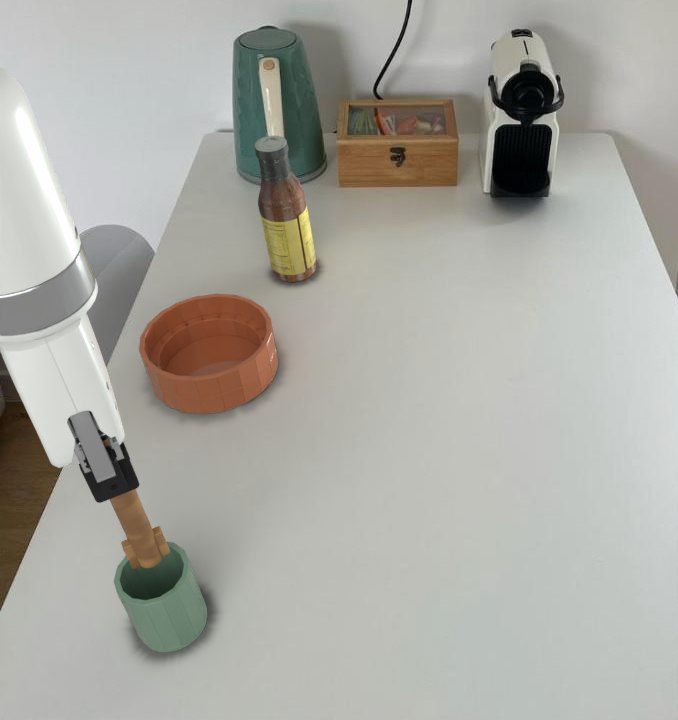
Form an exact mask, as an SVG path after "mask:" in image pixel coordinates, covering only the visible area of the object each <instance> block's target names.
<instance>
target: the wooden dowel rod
mask: <svg viewBox="0 0 678 720" xmlns="http://www.w3.org/2000/svg"><path fill="white" fill-rule="evenodd" d="M103 444H104V446H105V447H106V446H110V443H109V441H108V439H106V440H104V441H103ZM108 501H109V502H110V504H111V506H112V508H113V512H114V513H115V515H116V517H117V520H118V521H119V524H120V526H121V528H122V529H123V532H124V535H125V536H126V539H125V540H122V541H121V542H120V545H121V547H122V550H123V552H124V554H125V556H127V558H128V560H129V562H130V565H131V567H132V569H135V568H137V567H139V566H142V567H144V568H152V567H154V566H156V565H158V564H159V563H160V561H161V560H162V557H163V556H165V555H167V554H169V553H170V550H169V547H168V545H167V542H168V541H167V540H166V538H165V535H164V532H163V531H162V527H161V526H159V525H157V526H156V527H152V525H151V522H150V520H149V517H148V515H147V513H146V511H145V509H144V506H143V504H142V501H141V499H140V496H139V494H138V492H137V488H136V489H134V490H131V491H129V492H127V493H124V494H122V495H119V496H117V497H114V498H112V499H109V500H108Z"/></svg>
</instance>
